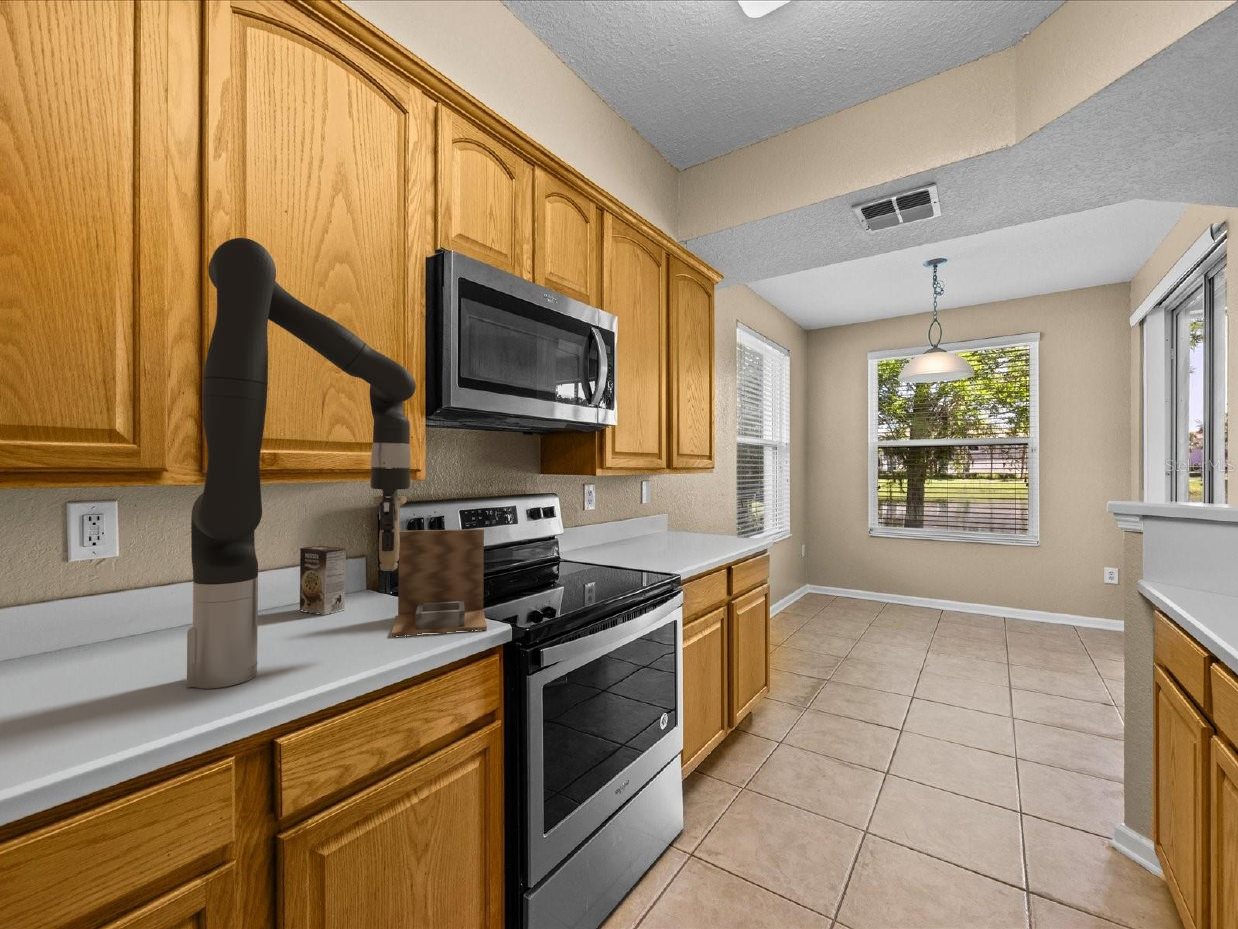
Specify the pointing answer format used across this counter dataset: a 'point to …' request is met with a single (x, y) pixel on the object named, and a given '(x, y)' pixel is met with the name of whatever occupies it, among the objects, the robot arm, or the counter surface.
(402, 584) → the board
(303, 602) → the coffee box
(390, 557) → the handle
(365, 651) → the counter surface
